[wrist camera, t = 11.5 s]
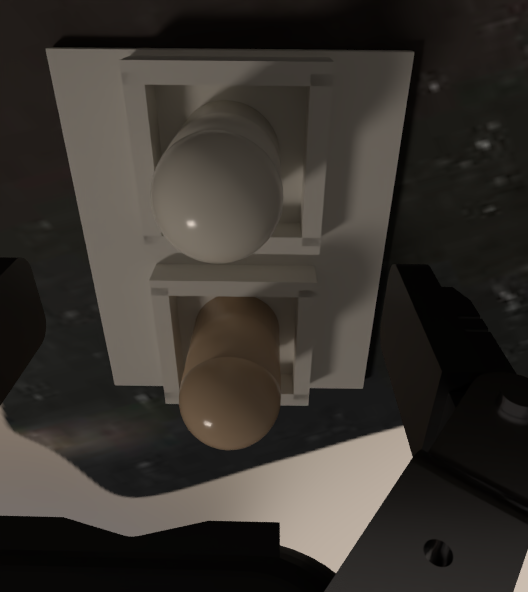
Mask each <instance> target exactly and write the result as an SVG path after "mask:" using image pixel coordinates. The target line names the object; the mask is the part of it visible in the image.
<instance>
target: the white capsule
mask: <svg viewBox="0 0 528 592" xmlns="http://www.w3.org/2000/svg"><path fill="white" fill-rule="evenodd" d="M150 199H151V207H152V212H153V215H154V218H155V221H156V223H157V225H158V227H159V229H160V231H161V232H162V234H163V235H164V237H165V238H166V239H167V240H168V241H169V242H170V243H171V244H172V245H173V246H174V247H175V248H176V249H178V250H179V251H180V252H182V253H183V254H185V255H187V256H188V257H191V258H193V259H195V260H199V261H202V262H207V263H229V262H234V261H237V260H241V259H243V258H245V257H248V256H249V255H251V254H253V253H254V252H256V251H257V250H258V249H260V248H261V247H262V246H263V245H264V244H265V243H266V242H267V241H268V240H269V238H270V237H271V236H272V234H273V232H274V231H275V229H276V227H277V225H278V222H279V220H280V217H281V213H282V208H283V182H282V169H281V157H280V147H279V142H278V139H277V135H276V133H275V131H274V129H273V127H272V126H271V124H270V123H269V121H268V120H267V119H266V118H265V117H264V116H263V115H262V114H261V113H260V112H258V111H257V110H256V109H254V108H252V107H251V106H249V105H246V104H244V103H241V102H237V101H229V100H222V101H215V102H211V103H208V104H205V105H204V106H202V107H200V108H198V109H197V110H195V111H194V112H193V113H192V114H191V115H190V116H189V117H188V118H187V119H186V121H185V122H184V123H183V125H182V126H181V128H180V130H179V131H178V133H177V134H176V136H175V137H174V139H173V140H172V142H171V143H170V145H169V146H168V148H167V149H166V151H165V152H164V154H163V155H162V157H161V159H160V160H159V162H158V164H157V166H156V169H155V171H154V174H153V177H152V182H151V190H150Z"/></svg>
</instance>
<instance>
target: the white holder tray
mask: <svg viewBox="0 0 528 592" xmlns="http://www.w3.org/2000/svg"><path fill="white" fill-rule="evenodd" d="M46 53H47V58H48V63H49V68H50V73H51V78H52V82H53V87H54V92H55V97H56V102H57V107H58V111H59V116H60V121H61V126H62V131H63V136H64V141H65V145H66V150H67V155H68V160H69V165H70V170H71V174H72V179H73V184H74V189H75V194H76V199H77V204H78V208H79V213H80V218H81V223H82V228H83V233H84V238H85V242H86V247H87V252H88V257H89V262H90V267H91V271H92V276H93V281H94V286H95V291H96V296H97V301H98V305H99V310H100V315H101V320H102V325H103V330H104V335H105V339H106V344H107V349H108V354H109V359H110V364H111V368H112V373H113V378H114V383H115V385H134V386H164V393H165V401H166V404H179V391H180V385H181V381H182V376H183V372H184V368H185V363H186V359H187V355H188V351H189V346H190V342H191V338H192V333H193V329H194V325H195V320H196V317H197V315H198V313H199V311H200V310H201V308H202V307H203V306H204V305H205V304H206V303H207V302H209V301H210V300H212V299H213V298H216V297H218V296H228V297H256V298H258V299H260V300H262V301H263V302H265V303H266V304H267V305H268V306H269V307H270V308H271V309H272V310H273V311H274V313H275V315H276V316H277V319H278V322H279V334H280V373H281V405H297V406H308V401H309V388H355V389H363V384H364V378H365V371H366V365H367V358H368V352H369V345H370V339H371V332H372V326H373V319H374V313H375V306H376V300H377V293H378V287H379V280H380V274H381V267H382V261H383V254H384V248H385V241H386V235H387V228H388V222H389V215H390V209H391V202H392V196H393V189H394V183H395V176H396V170H397V163H398V157H399V150H400V143H401V137H402V130H403V124H404V117H405V111H406V104H407V98H408V91H409V85H410V78H411V72H412V65H413V59H414V52H413V51H409V50H300V49H192V48H84V47H50V48H46ZM222 100H229V101H237V102H241V103H244V104H246V105H249V106H251V107H252V108H254V109H256V110H257V111H258V112H260V113H261V114H262V115H263V116H264V117H265V118H266V119H267V120H268V121H269V123H270V124H271V126H272V127H273V129H274V131H275V133H276V135H277V139H278V142H279V147H280V157H281V169H282V182H283V208H282V213H281V217H280V220H279V222H278V225H277V227H276V229H275V231H274V232H273V234H272V236H271V237H270V238H269V240H268V241H267V242H266V243H265V244H264V245H263V246H262V247H261V248H260V249H258V250H257V251H256V252H254V253H253V254H251V255H249V256H248V257H245V258H243V259H241V260H237V261H234V262H229V263H207V262H202V261H199V260H195V259H193V258H191V257H188V256H187V255H185V254H183V253H182V252H180V251H179V250H178V249H176V248H175V247H174V246H173V245H172V244H171V243H170V242H169V241H168V240H167V239H166V238H165V237H164V235H163V234H162V232H161V231H160V229H159V227H158V225H157V223H156V221H155V218H154V215H153V212H152V207H151V199H150V190H151V182H152V177H153V174H154V171H155V169H156V166H157V164H158V162H159V160H160V159H161V157H162V155H163V154H164V152H165V151H166V149H167V148H168V146H169V145H170V143H171V142H172V140H173V139H174V137H175V136H176V134H177V133H178V131H179V130H180V128H181V126H182V125H183V123H184V122H185V121H186V119H187V118H188V117H189V116H190V115H191V114H192V113H193V112H194V111H195V110H197V109H198V108H200V107H202V106H204V105H205V104H208V103H211V102H215V101H222Z"/></svg>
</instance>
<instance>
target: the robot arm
mask: <svg viewBox="0 0 528 592" xmlns="http://www.w3.org/2000/svg"><path fill="white" fill-rule="evenodd" d="M45 332H46V319H45V314H44V311H43V307H42V304H41V300H40V297H39V293H38V290H37V287H36V283H35V280H34V276H33V273H32V269H31V267H30V264H29V263H28V261H27V260H26V259H24V258H0V405H1V404H2V402H3V401H4V399H5V398H6V396H7V395H8V393H9V392H10V390H11V389H12V387H13V386H14V384H15V383H16V381H17V380H18V378H19V377H20V375H21V374H22V372H23V371H24V369H25V368H26V366H27V365H28V363H29V362H30V360H31V359H32V357H33V356H34V354H35V353H36V352H37V350H38V349H39V347H40V346H41V344H42V342H43V340H44V337H45ZM380 341H381V349H382V353H383V356H384V360H385V363H386V367H387V370H388V373H389V377H390V380H391V384H392V387H393V391H394V394H395V397H396V401H397V404H398V408H399V411H400V415H401V418H402V422H403V425H404V428H405V432H406V435H407V439H408V442H409V445H410V449H411V452H412V456H413V458H412V460H411V461H410V463H409V464H408V466H407V467H406V469H405V470H404V472H403V473H402V475H401V476H400V478H399V479H398V481H397V482H396V484H395V485H394V487H393V488H392V490H391V491H390V493H389V494H388V496H387V498H386V499H385V500H384V502H383V503H382V505H381V506H380V508H379V510H378V511H377V513H376V514H375V516H374V517H373V519H372V520H371V522H370V523H369V525H368V526H367V528H366V529H365V531H364V532H363V534H362V535H361V537H360V538H359V540H358V541H357V543H356V544H355V546H354V547H353V549H352V550H351V552H350V553H349V555H348V556H347V558H346V560H345V561H344V563H343V564H342V566H341V567H340V569H339V570H338V572H337V573H335V572H333V571H331V570H330V569H329V568H328V567H326V566H325V565H323V564H322V563H320V562H318V561H317V560H315V559H313V558H311V557H309V556H307V555H305V554H303V553H300V552H298V551H295V550H293V549H290V548H287V547H283V546H280V539H279V538H280V534H279V533H280V528H279V527H280V525H279V523H276V522H236V521H235V522H234V521H233V522H232V521H206V522H202V523H197V524H192V525H187V526H183V527H178V528H174V529H169V530H165V531H160V532H155V533H151V534H146V535H142V536H135V537H128V536H123V535H120V534H117V533H113V532H110V531H107V530H103V529H100V528H97V527H93V526H90V525H87V524H83V523H81V522H77V521H74V520H71V519H67V518H64V517H30V516H29V517H28V516H0V592H513V591H514V588H515V585H516V582H517V579H518V576H519V573H520V570H521V568H522V564H523V562H524V559H525V556H526V553H527V550H528V378H527V377H525V376H522V375H518V374H516V372H515V371H514V369H513V368H512V366H511V364H510V363H509V361H508V360H507V358H506V356H505V355H504V353H503V352H502V350H501V348H500V347H499V345H498V344H497V342H496V340H495V339H494V337H493V336H492V334H491V332H488V328H487V326H486V324H485V323H484V321H483V320H482V319H480V315H479V313H478V312H477V310H476V308H475V307H474V305H473V304H472V302H471V300H469V299H468V298H466V297H465V296H464V295H462V294H461V293H460V292H458V291H457V290H456V289H454V288H453V287H441V286H440V284H439V282H438V280H437V278H436V277H435V275H434V273H433V271H432V269H431V268H430V266H429V265H427V264H393V265H392V266H391V268H390V271H389V276H388V282H387V288H386V294H385V301H384V307H383V313H382V319H381V327H380Z"/></svg>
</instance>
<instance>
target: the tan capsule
mask: <svg viewBox="0 0 528 592" xmlns="http://www.w3.org/2000/svg"><path fill="white" fill-rule="evenodd" d="M280 405H281V373H280V334H279V322H278V319H277V316H276V315H275V313H274V311H273V310H272V309H271V308H270V307H269V306H268V305H267V304H266V303H265V302H263V301H262V300H260V299H258V298H256V297H228V296H218V297H216V298H213V299H212V300H210V301H209V302H207V303H206V304H205V305H204V306H203V307H202V308H201V310H200V311H199V313H198V315H197V317H196V320H195V325H194V329H193V333H192V338H191V342H190V346H189V351H188V355H187V359H186V363H185V368H184V372H183V376H182V381H181V385H180V391H179V407H180V412H181V415H182V418H183V420H184V422H185V424H186V426H187V428H188V429H189V430H190V432H191V433H192V434H193V435H194V436H195V437H196V438H197V439H199V440H200V441H201V442H203V443H204V444H206V445H208V446H211V447H214V448H217V449H222V450H236V449H242V448H245V447H248V446H250V445H252V444H254V443H256V442H257V441H259V440H260V439H262V438H263V437H264V436H265V435H266V434H267V433H268V432H269V430H270V429H271V428H272V426H273V425H274V423H275V421H276V419H277V417H278V413H279V410H280Z"/></svg>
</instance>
